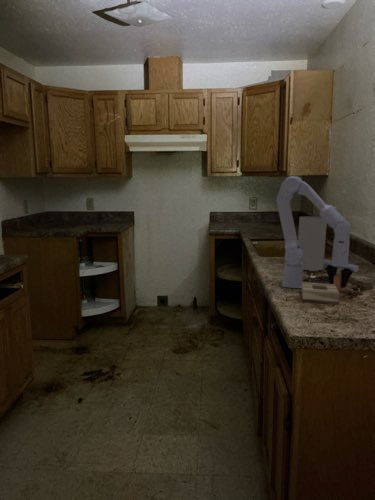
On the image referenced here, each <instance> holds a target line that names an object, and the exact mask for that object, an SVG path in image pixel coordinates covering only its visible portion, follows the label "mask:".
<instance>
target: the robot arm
mask: <svg viewBox="0 0 375 500" xmlns="http://www.w3.org/2000/svg"><path fill="white" fill-rule="evenodd" d="M280 185H281V186H280V188H279V191H278V193H277V196H276V205H277V209H278V215H279V219H280V225H281V229H282V233H283V238H284V242H285V243H284V249H285V254H284V267H283V280H282V281H281V282H282V287H283V288H290V289H291V288H293V289H301V287H302V282H303V271H304V270H303V263H302V262H301V259H302V258H303V256H304V253H303V250H302V249H301V248H300V245H299V242H298V235H297V231H296V226H295V222H294V217H293V213H292V207H291V200H292V198H293V197H294V195H296V194H298V195H302V196H305V197H306V199H308V200H309V201H310V202H311V203H312V204H313V205H314V206H315V207H316V208H317V209H318V210H319V217H322V218H323V219H324V220H325V222H326V223H327V224H326V225H328V226H329V227H330V228H332V229H333V232H334V239H333V244H332V245H333V246H332V253H333V255H332V254H331V255H332V256H331V260H329V259H324V260H322V265H324V266H325V268H324V269H325V271H326V274H327V277H328V280H329V284H333V281H334V275H336V272H337V269H338V268H342V269H344V270H341V278H342V281H341V288H343V289H344V288H345V289H346V288H347V284H348V282H349V279H350V277H351V276H352V274H353V273H354V272H356V273H357V272H358V271H359V267H360V266H359V265H355V264H353V263H349V254H350V253H349V252H350V236H351V235H350V233H351V232H352V227H351V226H352V225H351V223H350V222H349V220H346V219H347V218H346V217H345V216H342V215H341V213H340V212H339V211H338V208H337V207H336V206H333V205H332V204H326V202H325V201H324V200H323V199H322V198H321V197H320V196H319V195H318V194H317V192H316V191H315V190H314V189H313V188H312V187H311V185H309V184H308V183H307V182H306V181H303V179H302V178H301V177H299V176H297V175H290V176H287V177H286V178H285V179H284V180H283V182H282V183H281V184H280Z"/></svg>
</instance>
